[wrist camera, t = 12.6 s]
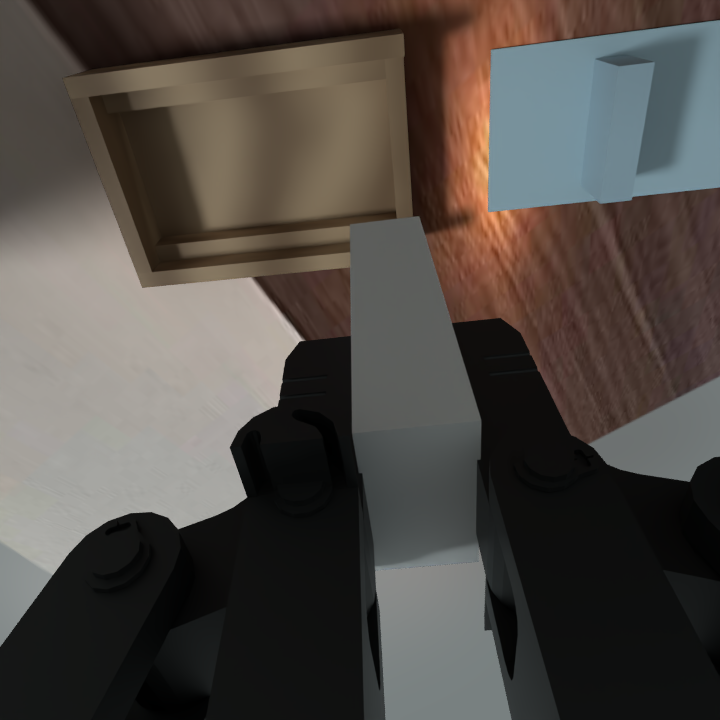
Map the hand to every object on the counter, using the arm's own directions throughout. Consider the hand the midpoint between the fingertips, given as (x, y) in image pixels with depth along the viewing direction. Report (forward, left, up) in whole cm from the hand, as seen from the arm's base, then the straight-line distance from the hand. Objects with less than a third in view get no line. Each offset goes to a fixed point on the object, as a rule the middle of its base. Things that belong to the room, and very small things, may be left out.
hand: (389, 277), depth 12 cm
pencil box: (-7, -2, -20) cm, 21 cm away
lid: (+13, -2, -21) cm, 25 cm away
